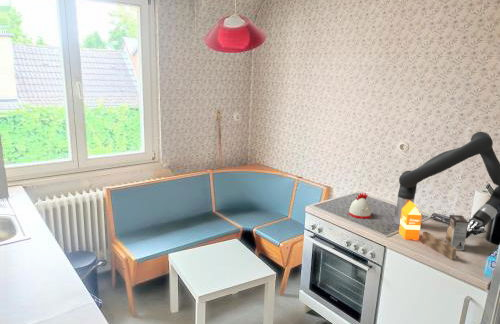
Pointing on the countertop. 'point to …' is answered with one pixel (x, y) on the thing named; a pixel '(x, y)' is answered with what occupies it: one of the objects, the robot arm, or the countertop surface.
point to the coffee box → (457, 231)
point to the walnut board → (439, 245)
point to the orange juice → (410, 221)
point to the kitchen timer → (360, 207)
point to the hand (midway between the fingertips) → (463, 237)
